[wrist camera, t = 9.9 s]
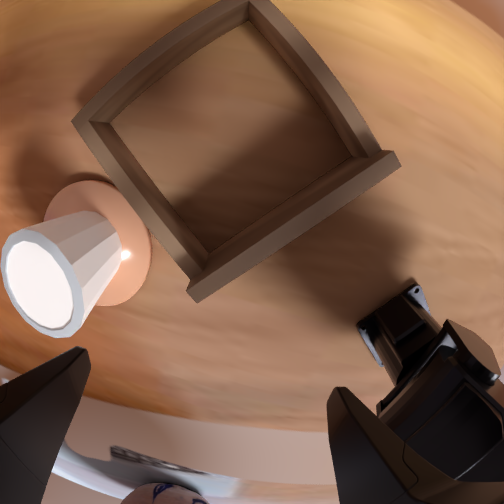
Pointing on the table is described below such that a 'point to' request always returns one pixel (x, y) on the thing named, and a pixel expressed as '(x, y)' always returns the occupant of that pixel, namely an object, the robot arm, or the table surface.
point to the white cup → (60, 270)
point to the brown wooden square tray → (280, 218)
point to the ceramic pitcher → (163, 495)
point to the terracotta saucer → (125, 223)
